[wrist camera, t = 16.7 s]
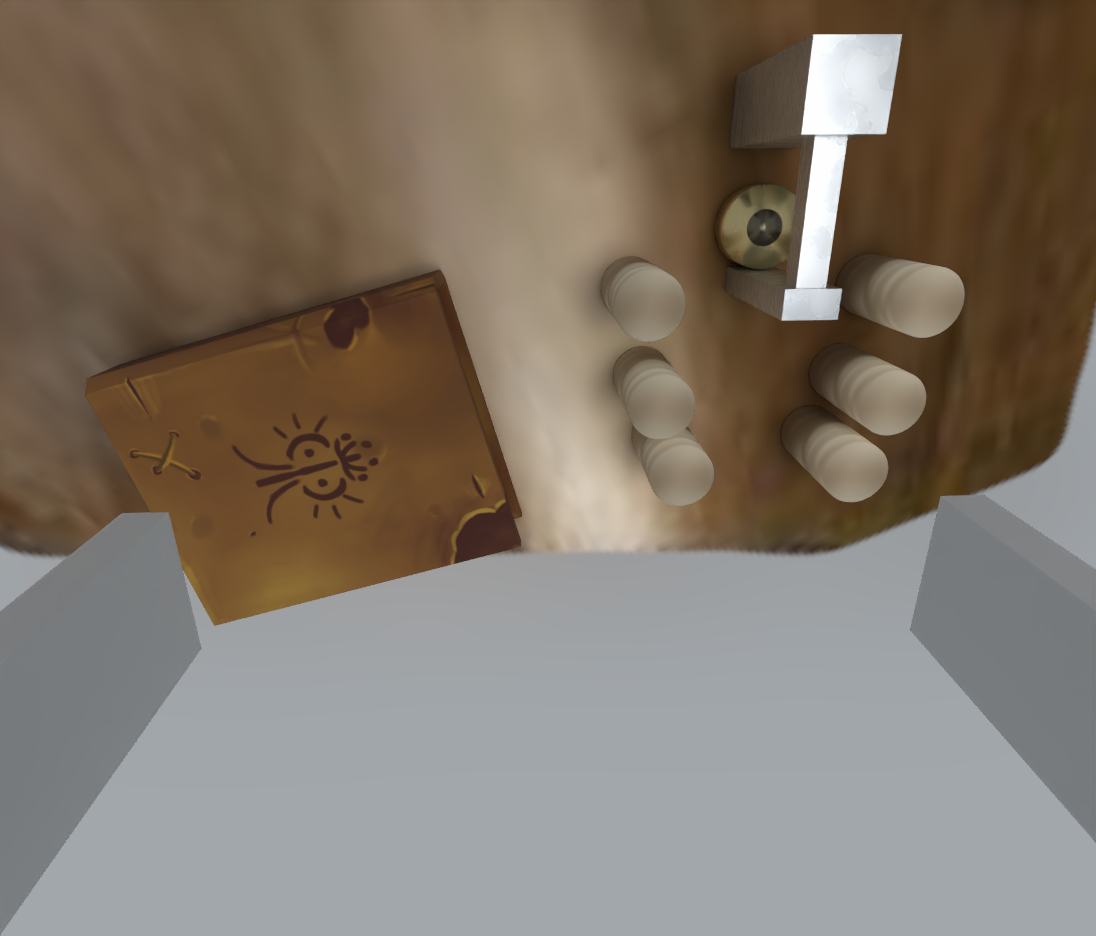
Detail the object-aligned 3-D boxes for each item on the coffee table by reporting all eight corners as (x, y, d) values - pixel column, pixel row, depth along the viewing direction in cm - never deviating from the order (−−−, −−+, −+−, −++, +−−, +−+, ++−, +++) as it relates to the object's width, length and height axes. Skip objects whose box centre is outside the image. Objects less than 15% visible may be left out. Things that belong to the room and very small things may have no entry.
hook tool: (736, 75, 42) (813, 34, 30) (801, 75, 42) (902, 34, 31) (717, 291, 46) (778, 324, 35) (776, 290, 46) (855, 323, 35)
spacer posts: (601, 256, 45) (616, 270, 38) (899, 253, 46) (971, 266, 38) (596, 460, 51) (609, 507, 43) (863, 455, 51) (920, 500, 44)
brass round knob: (719, 182, 44) (731, 182, 42) (796, 186, 44) (811, 186, 42) (709, 263, 46) (719, 267, 43) (782, 267, 46) (796, 271, 44)
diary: (442, 267, 46) (431, 278, 40) (521, 510, 53) (521, 546, 47) (126, 361, 47) (75, 383, 42) (243, 584, 54) (213, 627, 49)
